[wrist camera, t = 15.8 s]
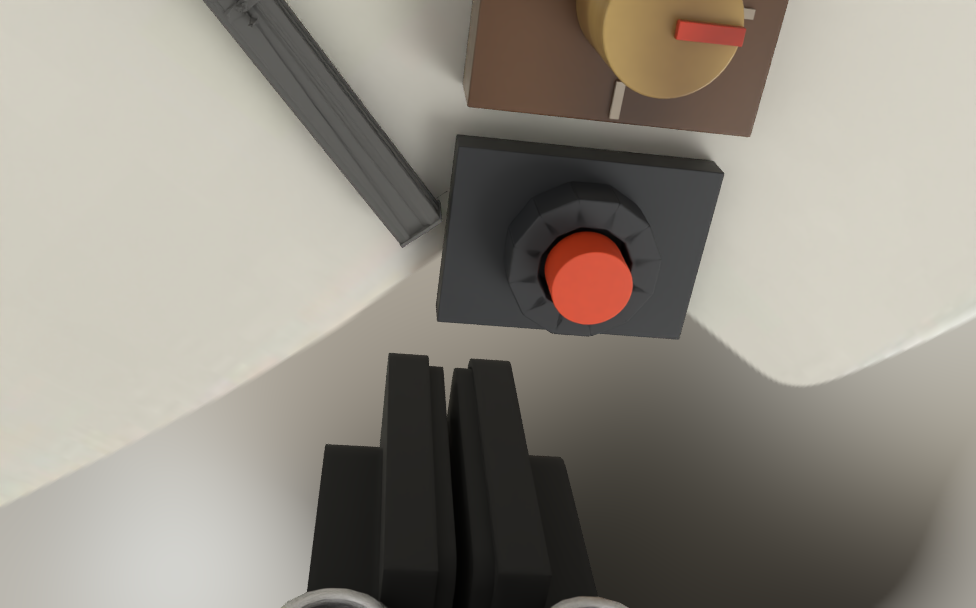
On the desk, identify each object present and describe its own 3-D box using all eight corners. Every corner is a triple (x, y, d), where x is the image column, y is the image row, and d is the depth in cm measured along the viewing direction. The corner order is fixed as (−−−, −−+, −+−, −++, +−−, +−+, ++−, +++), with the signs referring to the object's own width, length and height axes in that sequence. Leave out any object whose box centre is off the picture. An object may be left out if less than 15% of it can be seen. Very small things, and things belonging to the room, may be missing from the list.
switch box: (435, 305, 40) (438, 346, 37) (456, 134, 36) (461, 163, 33) (670, 323, 41) (691, 363, 38) (713, 160, 38) (741, 191, 35)
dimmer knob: (566, 55, 32) (592, 95, 28) (587, -76, 30) (619, -57, 25) (683, 68, 33) (728, 108, 28) (712, -60, 30) (765, -39, 26)
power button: (538, 298, 37) (544, 322, 35) (551, 227, 35) (558, 248, 33) (613, 304, 37) (623, 328, 35) (629, 234, 36) (640, 255, 34)
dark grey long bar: (452, 193, 38) (458, 235, 34) (401, 226, 38) (402, 271, 34) (128, -239, 29) (90, -245, 26) (69, -188, 30) (23, -187, 26)
